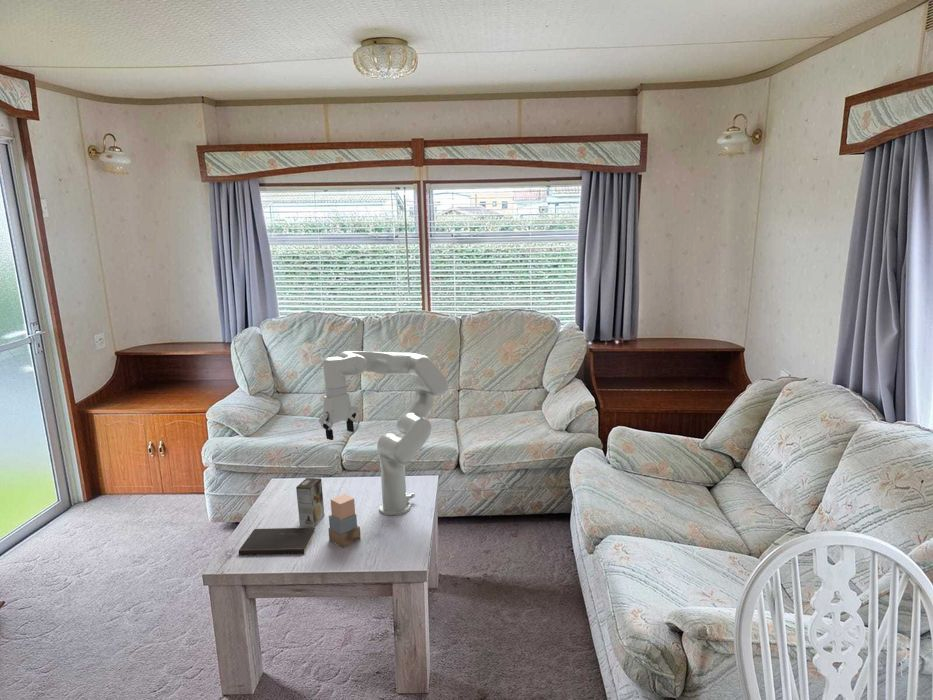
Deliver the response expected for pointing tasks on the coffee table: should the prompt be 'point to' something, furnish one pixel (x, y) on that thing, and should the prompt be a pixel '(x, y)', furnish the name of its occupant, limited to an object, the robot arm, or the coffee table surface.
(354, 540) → the tower bottom
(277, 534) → the hardcover book
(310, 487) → the coffee box
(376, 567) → the coffee table surface
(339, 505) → the terracotta cube
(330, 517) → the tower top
